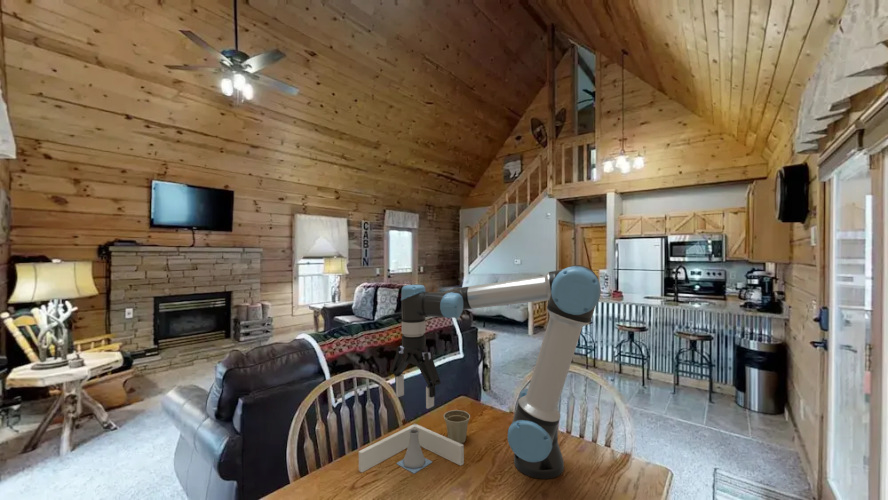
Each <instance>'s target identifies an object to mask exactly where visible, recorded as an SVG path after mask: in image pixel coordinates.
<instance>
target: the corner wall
mask: <svg viewBox="0 0 888 500" xmlns="http://www.w3.org/2000/svg"><path fill="white" fill-rule="evenodd" d="M411 429H418V430H419V433H418V438H419V444H420V447H421V448H423V449H425V450H428V451H429V452H432V453H433V454H436V455H438V456H440V457H442V458H444V459H446V460H448V461H450V462H452V463H454V464H455V465H458V466H463V465H464V463H465V461H464V459H465V456H464V455H465V453H464V448H465V445H464V443H461V444H460V443H458V442H456V441H454V440H451V439H449V438H448V436H445V435H442V434H441V433H440V434H439V433H438V432H435V431H433V430H430V429H428V428H426V427H424V426H422V425H420V424H417V423H413V424H412V425H409V426H407V427H405V428H403V429H401V430H399V431H397V432H395V433H393V434H391V435H389V436H387V437H385V438H382V439H380V440H379V441H376V442H375V443H372V444H370V445H369V446H367V447H364V448H362V449H361V450H358V471H359V472H360V473H363V472H365V471H367V470H369V469H371V468H373V467H374V466H377V465H379V464H381V463H382V462H384V461H386V460H388V459H389V458H391V457H393V456H395V455H397V454H398V453H400V452H402V451H404V450H405V449H406V450H407V448H408V445H409V441H410V433H409V431H410V430H411Z"/></svg>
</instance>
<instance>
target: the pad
mask: <svg viewBox="0 0 888 500" xmlns="http://www.w3.org/2000/svg"><path fill="white" fill-rule="evenodd" d="M424 458H425V461H426V462H425V464H424V465H423V466H422V467H418V468H409V467H405V466H404V463H403V460H404V458H403V459H401V460H400V461H397V462H396V465H398V466H399V467H401V468H402V469H405V470H406V471H408V472H409V473H411V474H413V475H415V474H416V473H418V472H420V471H421V470H422V469H424V468H426V467H428V466H429V465H431V464H432V463H433V461H432V460H430V459H429V458H427V457H424Z"/></svg>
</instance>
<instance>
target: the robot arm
mask: <svg viewBox="0 0 888 500" xmlns="http://www.w3.org/2000/svg"><path fill="white" fill-rule="evenodd" d="M601 290H602V289H601V283H600V281H599V278H598V276H597V274H596V273H595V272H594V271H593V270H592V269H591V268H589V267H587V266H585V265H579V264H577V265H576V264H575V265H571V266H568V267H565V268H561V269H558V270H551V271H547V273H546V274H544V275H539V276H533V277H526V278H520V279H519V278H518V279H512V280H505V281H499V282H498V281H497V282H492V283H485V284H484V283H483V284H476V285H470V286H463V287H461V286H457V287H453V288H452V289H448V290H445V291H441V292H440V291H438V292H437V291H435V292H431V291H426V286H424V285H423V284H407V285H403V286H402V287H401V295H400V297H401V298H400V301H401V302H400V303H401V334H402V335H401V345H400V346H397V347H396V354H395V355H394V359H393V362H392V364H391V368H390V373H391V374H393V376H394V378H395V379H394V384H395V389H396V390H395V391H396V392H395V394H396V395H395V397H396V398H399V397H402V396H405V375H404V372H405V370H406V368H407V366H408V365H411V364H412V365H414V366H416V367H417V368H418V369H419V370H420V372H421V375H422V376H423V379H424V381H425V382H426V384H427V386H425V404H426V405H425V408H426V409H431V408H433V407H434V406H435V397H436V386H439V385H441V383H442V382H441V379H440V376H439V373H438V370H437V367H436V365H435V361H434V359H433V352H431V351H428V352H425V348H426V344H427V343H426V340H427V339H426V337H427V336H426V317H435V318H446V319H454V318H456V319H457V318H459V317H461V315H462V314H463V311H465V310H473V309H480V308H481V309H482V308H490V307H491V308H493V307H499V306H508V305H517V304H526V303H527V304H528V303H535V302H543V301H548V303H547V306H546V310H547V313H548V314H549V320H548V321H547V326H546V330H545V332H544V336H543V338H542V342H541V346H540V350H539V352H538V355H537V359H536V361H535V365H534V369H533V372H532V375H531V378H530V382H529V384H528V388H524V389H521V391H519V395H518V401H517V402H518V403H517V406H516V409H515V412H514V416H513V419H512V422H511V424H510V426H508V430H507V443H508V445H509V447H510V449H511V450H512V452H513V464H514V466H515V468H516V469H517V470H518V471H519V472H521V473H522V474H524V475H526V476H527V477H531V478H534V479H542V480H548V479H554V478H557V477H559V476H560V475H562V474H563V472H564V469H565V467H564V464H565V463H564V462H565V461H564V457H563V455H562V452H561V447H560V444H559V442H558V441H559V439H558V437H559V434H558V431H559V429H558V426H559V425H558V424H559V422H560V420H561V419H560V418H561V413H560V411H559V410H558V409H559V407H558V406H559V402H560V398H561V396H562V393H563V390H564V387H565V383H566V380H567V377H568V374H569V371H570V367H571V364H572V361H573V358H574V355H575V352H576V348H577V345H578V342H579V339H580V336H581V332H582V329H583V328H584V327H585V326H587V325H589V324H591V322H592V321H591V320H592V319H593V318H592V317H593V314H594V311H595V310H596V306H597V304H598V302H599V301H600V298H601V293H602V291H601Z"/></svg>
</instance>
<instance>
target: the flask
mask: <svg viewBox="0 0 888 500" xmlns="http://www.w3.org/2000/svg"><path fill="white" fill-rule="evenodd" d="M409 433H410V441H409V445H408V448H406V452H405V454H404V458H403V459H404V460H403V459H402V460H403V463H404V466H405V467H409V468H418V467H422V466H423V465H424V464H425V462H426V461H425V458H426V457H425V456H424V453H423V450H422V447H421V446H420V444H419V438H418V433H419V430H418V429H411V430H410V431H409Z"/></svg>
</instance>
